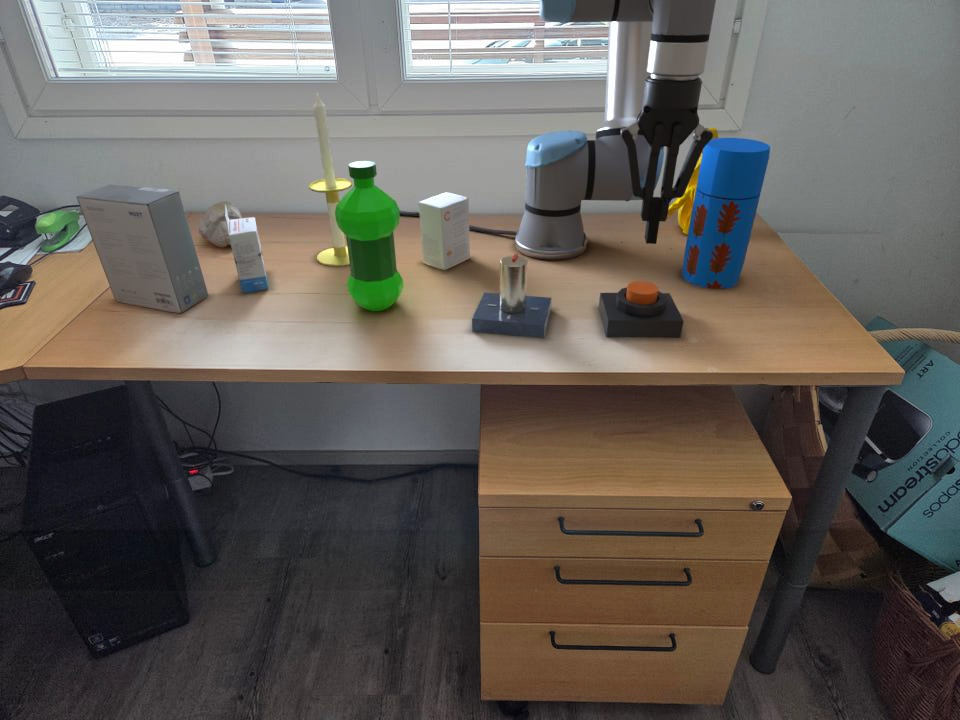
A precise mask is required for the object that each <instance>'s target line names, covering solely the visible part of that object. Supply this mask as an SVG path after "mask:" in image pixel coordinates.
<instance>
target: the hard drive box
mask: <svg viewBox="0 0 960 720" xmlns="http://www.w3.org/2000/svg"><path fill="white" fill-rule="evenodd" d="M76 200H77V202H78V205H79V208H80V211H81V213H82V216H83V218H84V222H85V224H86V226H87V229H88V232H89V234H90V237H91V239H92V243H93V245H94V248H95V251H96V253H97V256H98V258H99V261H100V264H101V267H102V269H103V272H104V274H105V277H106V280H107V282H108V285H109V288H110V290H111V294H112V296H113V298H114V301H115V302H117V303H122V304H126V305H131V306H138V307H142V308H143V307H144V308H150V309H153V310H154V309H156V310H159V311H163V312H171V313H176V314H181V313H184V312H185V311H186V310H188V309H190V308H191V307H193V306H195V305H196V304H197V303H200V302H201V301H203V300H205V299H206V298H208V297H209V291H208V287H207V286H206V282H205V277H204V274H203V270H202V268H201V264H200V259H199V257H198V253H197V249H196V246H195V243H194V239H193V236H192V232H191V229H190V225H189V222H188V218H187V214H186V211H185V208H184V205H183V200H182V197H181V193H180V190H176V189H172V190H171V189H167V188H166V189H165V188H156V187H143V186H130V185H123V184H122V185H120V184H108V185H105V186H101V187H99V188H96V189H93V190H90V191H88V192H84V193H81V194H79V195H76Z"/></svg>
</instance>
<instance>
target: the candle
mask: <svg viewBox="0 0 960 720" xmlns="http://www.w3.org/2000/svg"><path fill="white" fill-rule="evenodd" d="M313 111H314V119H315V126H316V132H317V138H318V146H319V152H320V160H321V166H322V174H323V178H322V179H318V180H314V181H312V182H310V183H309V184H308V189H309V190H310V191H312V192H314V193H315V192H316V193H322V194H323V193H324V194H325V200H326V207H327V214H328V219H329V227H330V232H331V239H332V247H330V248H327V249H325V250H322V251H320V252H319V253H318V254H317V255H316V262H318V264H320V265H323V266H328V267H346V266H350V262H349V255H348V247H347V245H346V239H345V234H344V233H343V232H342V231H341V230H340V229H339V227H338V225H337V222H336V218H335V210H336V206H337V204H338V203H339V202H340V196H339V192H344V191H346V190H350V189H351V188H352V186H353V181H352V180H350V179H347V178H341V177H336V176H335V175H336V174H335V168H334V161H333V160H334V159H333V153H332V146H331V137H330V131H329V123H328V117H327V110H326V105H325V103H324V102H323V101H322V99H321V97H320V94H319V91H318V90H316V97H315V103H314V104H313Z"/></svg>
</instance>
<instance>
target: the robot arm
mask: <svg viewBox="0 0 960 720" xmlns="http://www.w3.org/2000/svg"><path fill="white" fill-rule="evenodd" d="M716 2H717V0H539V3H538V4H539V17H540V19H541V20H542V21H544V22H547V23H548V22H549V23H550V22H551V23H559V24H568V23H569V24H570V23H608V37H607V38H608V39H607V58H606V59H607V60H606V61H607V62H606V79H605V83H606V84H605V99H604V100H605V102H604V117H603V118H604V120H603V123H602V124H601V125H600V126H599V127H598V128H597V129H596V131H595V139H588V137H587V134H586V133H585V132H583V131H581V130H559V131H553V132H547V133H544V134H540V135H537V136H536V137H534V138H533V139H531V140H530V142H529V143H528V144H527V148H526V161H525V163H524V167H525V168H526V171H525V193H524V195H525V196H524V212H523V215H522V218H521V221H520V224H519V229H518V230H517V231H515V230H514V231H513V230H504V229H503V230H500V229H493V228H485V227H481V226H475V225H471V224H469V230H472V231H475V232H481V233H487V234H493V235H503V236H515V240H514V241H515V244H514V245H515V248H516V250H517V251H518V252H520V253H521V254H523V255H524V256H528V257H530V258H534V259H540V260H547V261H549V260H550V261H556V260H558V261H559V260H566V259H572V258H575V257H577V256H580V255H582V254H583V253H584V252H585V251H586V249H587V244H588V242H589V235H586V232H585V229H584V223H583V217H582V214H581V209H582V208H581V207H582V201H624V202H630V201H641V210H640V217H641V220H642V222H646V223H645V231H644V241H645V244H646V245H647V244H648V245H649V244H650V245H657V241H658V234H659V227H660V222H662V223H663V222H666V221H667V220H668V218H667V215H668V209H669V207H670V204H671V202H672V200H674V199H677V198H681V197H683V195H684V193H685V191H686V190H687V186H688V184H689V181H690V179H691V176H692V174H693V172H694V169H695V167H696V165H697V162H698V160H699V158H700V155H701V153H702V150H703V148H704V147H705V146H706V145H707V144H708V143H709V141H710V140H711V139H712V138H713V133H712V132H711V131H710V130H709V129H708V128H709V127H705V126H703V125H702V124H701V123H700V117H699V114H698V109H699V103H700V96H701V91H702V85H703V81H702V79H701V77H699V76H701V75H703V73H704V72H705V67H706V60H707V55H708V48H709V44H710V43H709V42H710V41H709V40H710V35H711V32H712V25H713V20H714V19H713V18H714V13H715V7H716ZM691 135H692V139H693V140H692V142H691V145H690V146H689V149H688V152H687V155H686V157H685V159H684V161H683V164H682V166H681V169H680V171H679V174H678V176H677V179H676V181H675V184H674V180H675V174H676V167H677V162H678V161H677V160H678V156H679V153H680V146H681V145H683V144H684V142H685V141H686V140H687V139H688V138H689V137H690V136H691ZM665 147H666V152H665V151H664V149H665ZM664 156H665V160H664ZM663 163H664V167H663ZM662 167H663V172H662ZM661 173H662V180H661V188H660V196H654V194H655V190H656V188H657V185H658V182H659V180H660V177H661ZM399 214H400V216H401V215H402V216H414V217H415V216H419V217H420V214H419V211H408V210H407V211H405V210H400V209H399Z"/></svg>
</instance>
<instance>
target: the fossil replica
mask: <svg viewBox="0 0 960 720" xmlns="http://www.w3.org/2000/svg"><path fill="white" fill-rule="evenodd" d="M225 205H226V208H227V212H228V217H229V220H233V219H241V218H243V217H242V214H241V212H240V210H239V209H238V207H237V206H236V205H235V206H234V205H233V204H232V203H231V202H230V201H228V200H224V201H220V202H217V203H214V204H212V205H211V206H209V207H207V209H206V210H205V211H204V212H203V217H201V218H200V219H199V222H198V233H199V235H200V237H201V238H202V239H204V240H207V241H209V242H210V243H211V244H212V245H214V246H216V247H218V248H226V247H227V246H231V243H230V239H229V235H228V230H227V225H226V219H225Z"/></svg>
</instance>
